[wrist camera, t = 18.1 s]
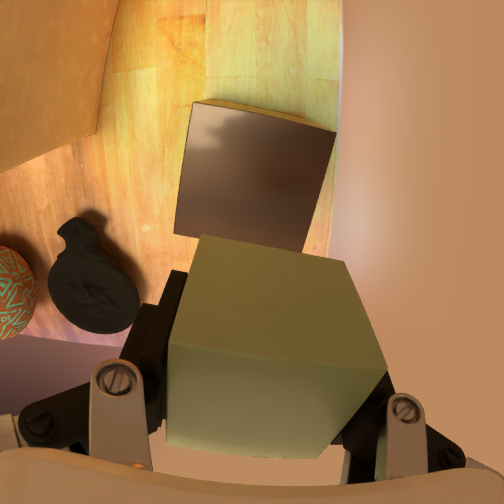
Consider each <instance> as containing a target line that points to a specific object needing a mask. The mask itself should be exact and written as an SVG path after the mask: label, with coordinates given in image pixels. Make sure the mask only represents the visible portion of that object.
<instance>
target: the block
mask: <svg viewBox="0 0 504 504" xmlns="http://www.w3.org/2000/svg"><path fill="white" fill-rule="evenodd" d="M387 368H388V367H387V364H386V361H385V359H384V356H383V353H382V351H381V348H380V346H379V343H378V341H377V338H376V336H375V333H374V331H373V328H372V326H371V323H370V321H369V318H368V316H367V314H366V311H365V309H364V306H363V304H362V302H361V300H360V297H359V295H358V292H357V291H356V288H355V286H354V283H353V281H352V279H351V276H350V274H349V272H348V270H347V268H346V265H345V263H344V262H343V261H339V260H335V259H330V258H325V257H319V256H314V255H309V254H304V253H299V252H294V251H288V250H283V249H278V248H273V247H268V246H262V245H257V244H252V243H247V242H241V241H236V240H231V239H225V238H220V237H215V236H210V235H204V234H202V235H201V236H200V239H199V242H198V246H197V249H196V252H195V255H194V258H193V261H192V264H191V267H190V271H189V274H188V277H187V280H186V284H185V287H184V290H183V293H182V297H181V300H180V303H179V307H178V310H177V313H176V317H175V320H174V324H173V327H172V331H171V334H170V338H169V342H168V361H167V387H166V444H168V445H173V446H177V447H183V448H189V449H195V450H201V451H208V452H215V453H223V454H232V455H241V456H252V457H264V458H283V459H316V458H318V456H319V455H320V454H321V453H322V452H323V451H324V450H325V449H326V448H327V446H328V445H329V444H330V443H331V442H332V441H333V440H334V438H335V437H336V436H337V435H338V434H339V432H340V431H341V430H342V429H343V428H344V426H345V425H346V424H347V423H348V422H349V420H350V419H351V418H352V417H353V415H354V414H355V413H356V412H357V410H358V409H359V408H360V406H361V405H362V404H363V403H364V401H365V400H366V399H367V397H368V396H369V395H370V393H371V392H372V391H373V389H374V388H375V386H376V385H377V384H378V382H379V381H380V380H381V378H382V377H383V375H384V374H385V372H386V371H387Z"/></svg>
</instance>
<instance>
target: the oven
mask: <svg viewBox="0 0 504 504" xmlns="http://www.w3.org/2000/svg"><path fill="white" fill-rule="evenodd" d="M118 4H119V0H0V174H2V173H4V172H6V171H8V170H10V169H12V168H14V167H16V166H18V165H20V164H22V163H25V162H27V161H29V160H31V159H33V158H36V157H38V156H40V155H42V154H45V153H47V152H49V151H52V150H54V149H56V148H59V147H61V146H64V145H66V144H69V143H71V142H74V141H76V140H79V139H82V138H84V137H87V136H90V135H92V134H95V133H96V127H97V117H98V109H99V101H100V93H101V86H102V80H103V74H104V68H105V62H106V57H107V51H108V46H109V42H110V37H111V32H112V28H113V24H114V19H115V15H116V11H117V7H118Z"/></svg>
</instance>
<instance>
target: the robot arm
mask: <svg viewBox="0 0 504 504" xmlns="http://www.w3.org/2000/svg"><path fill="white" fill-rule="evenodd" d="M187 277H188V273H187V272H182V271H176V270H172V271H171V273H170V276H169V278H168V281H167V283H166V286H165V288H164V291H163V294H162V296H161V299H160V301H159V304H158V306H157V305H152V304H147V303H142V305H141V307H140V309H139V311H138V313H137V316H136V318H135V320H134V323H133V325H132V327H131V330H130V332H129V335H128V337H127V339H126V342H125V344H124V347H123V349H122V352H121V354H120V357H119V359H109V360H106V361H103V362H101V363H100V364H98V365H97V366H96V367H95V369H94V370H93V371H92V375H91V381H90V382H88V383H85V384H83V385H80V386H78V387H75V388H72V389H70V390H67V391H64V392H62V393H59V394H56V395H53V396H51V397H48V398H45V399H42V400H40V401H37V402H34V403H32V404H30V405H28V406H26V407H25V408H24V409H23V410H22V411H21V413H20V415H17V416H12V415H11V414H6V415H1V416H0V504H504V477H503V476H502V475H501V474H500V473H499V472H497V471H495V470H493V469H491V468H489V467H487V466H485V465H483V464H481V463H479V462H477V461H475V460H474V459H472V458H470V457H467V458H466V459H465V455H464V452H463V451H462V449H461V448H460V447H459V446H458V445H456V444H455V443H454V442H452V441H451V440H449V439H447V438H446V437H445V436H443V435H442V434H440V433H439V432H437V431H436V430H434V429H433V428H431V427H430V426H429V425H427V424H426V423H425V413H424V409H423V407H422V405H421V404H420V403H419V401H418V400H417V399H416V398H414V397H413V396H411V395H409V394H406V393H397V394H396V393H395V390H394V387H393V384H392V382H391V379H390V376H389V373H388V371H386V372H385V374H384V375H383V377H382V378H381V380H380V381H379V382H378V384H377V385H376V386H375V388H374V389H373V391H372V392H371V393H370V395H369V396H368V397H367V399H366V400H365V401H364V403H363V404H362V405H361V406H360V408H359V409H358V410H357V412H356V413H355V414H354V415H353V417H352V418H351V419H350V420H349V422H348V423H347V424H346V425H345V426H344V428H343V429H342V430H341V431H340V432H339V434H338V435H337V436H336V437H335V438H334V440H333V441H332V442H331V445H342V444H343V448H344V449H346V450H345V455H344V462H343V468H342V475H341V481H340V485H331V486H300V487H299V486H298V487H297V486H295V487H294V486H287V487H286V486H259V485H243V484H232V483H222V482H213V481H205V480H198V479H191V478H184V477H179V476H173V475H168V474H163V473H158V472H153V467H152V461H151V454H150V446H149V439H148V435H149V434H151V433H153V432H155V431H157V428H158V427H161V424H162V419H165V420H166V387H167V361H168V342H169V338H170V334H171V331H172V327H173V324H174V320H175V317H176V313H177V310H178V307H179V303H180V300H181V297H182V293H183V290H184V287H185V284H186V280H187Z"/></svg>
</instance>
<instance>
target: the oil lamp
mask: <svg viewBox="0 0 504 504" xmlns="http://www.w3.org/2000/svg"><path fill="white" fill-rule="evenodd" d="M96 232H97V230H96V228H95V227H94V226H93V225H92V224H91V223H90V222H88V221H87V220H86V219H83V218H80V217H74V218H72V219H70V220H69V221H67V222H66V223H65V224H63V225H62V226H61V227H60V228H59V230H58V231H57V234H58V235H60V236H61V237H62V238H63V239H64V240H65V242H66V248H65V250H64V251H63V252H61V253H60V254H59V255H58V256H57V261H56V262H55V263H54V264H53V266H52V268H51V269H50V272H49V276H48V288H49V293H50V295H51V298H52V300H53V302H54V304H55V305H56V307H57V309H58V310H59V311H60V312H61V313H62V314H63V315H64V316H65V317H66V318H67V319H68V320H69V321H70V322H71V323H73V324H74V325H76V326H77V327H79V328H81V329H83V330H86V331H88V332H92V333H97V334H113V333H117V332H121V331H123V330H125V329H127V328H128V327H130V326H131V325H132V323H133V322H134V320H135V318H136V316H137V313H138V311H139V309H140V297H139V293H138V290H137V288H136V286H135V284H134V282H133V281H132V279H131V278H130V276H129V275H128V274H127V273H126V271H125V270H124V269H123V268H122V267H121V266H119V265H118V264H117V263H116V262H115V261H113V260H112V259H110V258H109V257H108V256H107V255H106V254H105V253H104V252H103V251H102V250H101V249H100V248H99V247H98V245H97V243H96V239H95V235H96Z"/></svg>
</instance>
